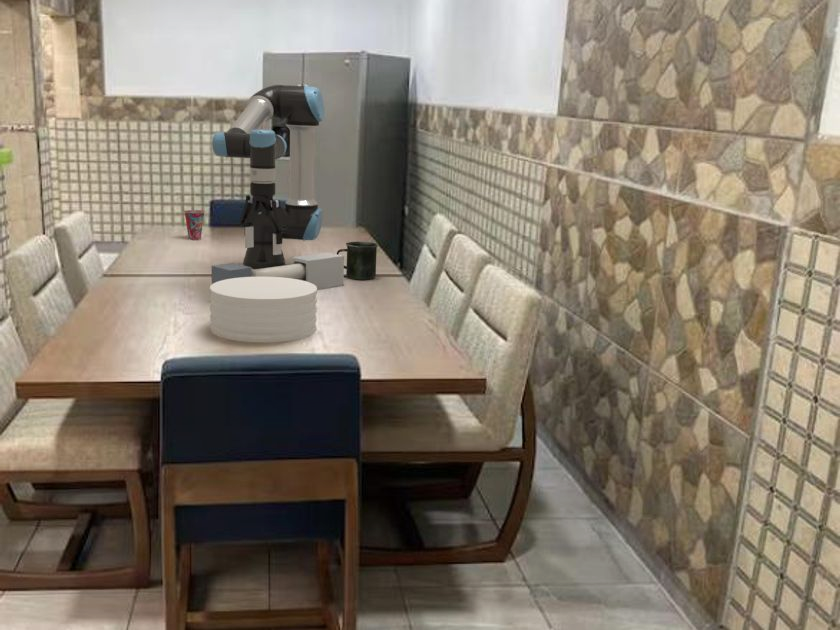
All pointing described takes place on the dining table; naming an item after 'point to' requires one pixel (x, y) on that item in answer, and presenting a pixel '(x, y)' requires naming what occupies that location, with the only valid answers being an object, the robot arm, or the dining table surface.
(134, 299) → the dining table surface
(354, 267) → the mug
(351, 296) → the dining table surface
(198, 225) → the cup
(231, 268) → the socket
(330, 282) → the sleeve
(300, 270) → the tube
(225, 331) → the plate stack
